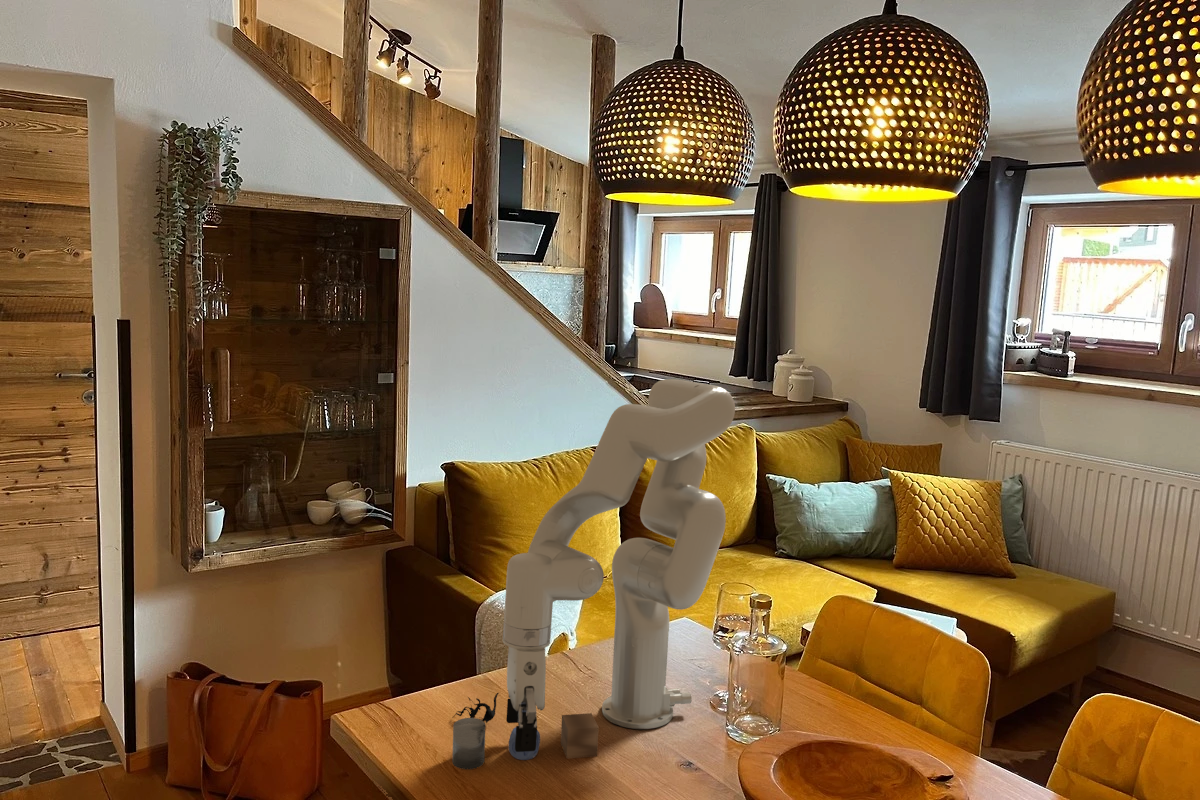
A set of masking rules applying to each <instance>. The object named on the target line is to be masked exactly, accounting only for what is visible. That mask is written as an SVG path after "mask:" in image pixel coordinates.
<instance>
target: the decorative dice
mask: <svg viewBox="0 0 1200 800" xmlns="http://www.w3.org/2000/svg"><path fill="white" fill-rule="evenodd" d="M509 735H510V736H509V739H508V751H509V754H510V755H511V756H512V757H513V758H514V759H516V760H520V761H521V760H522V761H527V760H532V759H534V758H535V757H536V756H537V755H538V753H539V748H540V744H541V734H540V732H539V730H538V729H537V738H536V750H535V751H526V752H516V750H515V738H516V726H515V727H514V728H513V729H512V730H511V732H510V734H509Z"/></svg>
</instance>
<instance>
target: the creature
mask: <svg viewBox="0 0 1200 800" xmlns="http://www.w3.org/2000/svg"><path fill="white" fill-rule="evenodd" d="M499 694H500V692H497V693H496V694H495V695H494V697H493V708H492V709H491V706H490V705H488V704H487V703H484V702H481V700H480V699H479V698H478V697H477V698H475V700H476V701H478V703H474V701H473V700H472V699H471V698H470V697H469V696H467V695H466V697H467V698H468V700H469V703H470V704H471V702H472V703H473V705H475V706H476V707H475V708H473V706H472V705H470V706H471V707H469V706H465V707H464V708H463V709H462V710H461V711H459V710H458V711H457V712H456V713H455V714H454V715H453V716H452V718H455V716H456V715H457V716H459V717H462V716H463V714H464V713H465V711H467V712H468V715H469V718H476V715H477V714H478V712H479V711H481V707H484V708H485V714H484V716H483V717H481V716H480V717H478V719H480V718H481V720H482V721H484V722H485V724H487V723H488V722H490V721H492V720H493V719H494V717H495V715H496V708H497V698H498V696H499ZM467 708H468V709H469V710H468V709H467ZM470 713H471V714H470Z"/></svg>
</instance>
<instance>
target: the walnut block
mask: <svg viewBox="0 0 1200 800" xmlns="http://www.w3.org/2000/svg"><path fill="white" fill-rule="evenodd" d="M560 728H561V729H560V730H561V731H560V732H561V733H560V745H561V747H563V748H562V750H563V752H564V755H565V758H566V759H567V760H568V759H579V758H590V757H591V758H593V757H598V746H599V745H598V743H599V742H598V741H599V726H598V723H597V721H596V719H595V717H594V714H593V713H589V712H588V713H573V714H572V713H571V714H561V727H560Z"/></svg>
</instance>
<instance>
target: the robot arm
mask: <svg viewBox="0 0 1200 800" xmlns="http://www.w3.org/2000/svg"><path fill="white" fill-rule="evenodd" d="M647 399H648V402H647V403H648V404H647V405H645V404H636V403H628V404H627V403H626V404H623V405H621V406H619V407H617V408H615V410H614V411H613V412H612V414H611V415H610V417H609V419H608V421H607V424H606V426H605V428H604V431H603V433H602V435H601V437H600V438H599V441H598V444H597V445H596V446H597V447H596V449H595V451H594V453H593V455H592V458H591V459H590V462H589V463H588V465H587V468H586V470H585V472H584V474H583V477H582V478H581V480H580V481H579V483H578V484H577V485H576V486H575V487H573V488H572V489H571V490H569V491H568V492H567V493H565V494H564V495H563V496H562V497H560V499H558V501H557V502H556V503H555V504H553V505H552V506H551V507H550V508H549V509H548V510H547V512H546V513H545V514H544V516H543V517H542V520H540V523H539V525H538V526H537V529H536V532H535V534H534V535H533V537H532V541H531V542H530V545H529V548H528V550H527V552H522V553H518V554H515V555H513V556H512V557H510V559H508V563H507V567H506V579H505V580H506V581H505V582H506V583H505V600H504V613H503V615H504V617H503V632H502V642H503V644H504V645H505V646H506V647H508V653H507V654H508V655H507V663H506V664H507V666H506V667H507V668H506V688H507V693H508V698H507V704H506V722H507V724H517V725H516V726H515V727H516V738H515V750H516V752H526V751H535V750H536V738H537V730H538V721H537V720H538V718H537V716H538V715H537V714H538V713H537V710H540V711H543V710H544V709H545V705H546V704H545V703H546V674H547V673H546V669H547V668H546V667H547V666H546V660H547V659H546V648H547V647H548V646H550V644H551V639H552V637H551V636H552V621H553V608H554V607H553V606H554V602H556V601H566V602H567V601H573V602H575V601H583V600H586V599H589V598H591V597H593V596H594V595H596V594H597V593H598V592H599V590H600V589H601V587H602V586H603V584H604V583H603V582H604V575H605V574H604V569H603V567H602V566H601V564H600V562H599V561H598V560H597V559H595V558H594V557H593V556H591V555H589V554H587V553H584V552H583V551H579V550H577V549H575V548H572V547H571V546H569V544H570V542H571V540H572V539H573V537H574V535H575V533H576V531H577V530H578V529H579V528H580V526H582V525H583V524H584V523H585V522H586V521H588V520H589V519H591V518H593V517H594V516H596V515H600V514H602V513H606V512H609V511H611V510H615V509H619V508H621V507H623V506H625V505H626V504H627V503H628V502H629V501H630V499H631V496H632V494H633V491H634V490H635V487H636V484H637V482H638V480H639V477H640V476H641V473H642V471H643V469H644V466H645V465H646V462H647V461H648V459H650V460H653V461H656V462H655V465H654V469H653V471H652V474H651V477H650V480H649V482H648V485H647V488H646V491H645V494H644V496H643V500H642V503H641V506H640V512H639V517H640V522H641V523H642V524H643V526H644V527H645V528H646V529H648V530H650V532H651V531H652V532H653V533H655V534H657V535H661V536H663V537H666V538H669V539H672V540H674V541H675V543H674V545H673V547H672V546H669V545H667V544H664V543H662V542H658V541H656V540H653V539H649V538H646V537H633V538H628V539H627V540H625V541H623V542H622V543H621V544H620V545H619V546H618V547H617V549H616V550H615V552H614V555H613V556H612V557H613V558H612V562H611V574H612V575H611V576H612V583H613V589H614V599H615V612H614V613H615V616H614V617H615V619H614V620H615V622H614V635H613V637H614V640H613V655H612V656H613V657H612V662H613V663H612V678H611V694H610V696H608V697H607V698H606V699H604V700H603V701H602V705H601V706H602V707H601V713H602V715H603V716H604V718H605V719H606V720H607V721H609V722H611V723H612V724H614V725H617V726H619V727H623V728H627V729H633V730H634V729H635V730H649V729H655V728H660V727H662V726H665V725H667V724H669V723H670V721H671V720H672V719H673V715H674V707H675V705H679V704H680V705H690V704H692V701H693V699H692V694H691V692H681V690H680V688H679V687H678V688H669V689H668V688H667V686H666V684H667V670H668V669H667V665H668V651H669V650H668V649H669V634H670V633H669V632H670V613H669V608H671V609H674V610H687V609H689V608H691V607H692V606H693V605H695V604H696V603H697V602H698V601H699V599H701V596H702V594H703V592H704V591H705V588H706V585H707V582H708V580H709V578H710V574H711V572H712V568H713V566H714V563H715V560H716V558H717V554H718V551H719V548H720V545H721V543H722V539H723V536H724V533H725V530H726V521H727V519H726V509H725V506H724V504H723V502H722V501H721V499H720V498H719V497H718V496H717V495H716V494H714V493H712V492H710V491H709V490H708V491H707V490H703V489H702V488H701V489H700V486H701V483H702V481H703V480H702V479H703V475H704V473H705V469H706V466H707V449H706V444H708V443H710V442H712V441H713V440H715V439H717V438H718V437H720V436H721V435H723V433H725V432H726V431H727V430H728V429H729V428H730V426H731V424H732V422H733V421H734V418H735V415H736V413H735V412H736V403H735V400H734V398H733V396H732V395H731V393H730V392H729V391H728V390H727V389H725V388H723V387H721V386H720V385H719V386H717V385H714V384H708V383H707V384H706V383H702V382H694V381H691V380H684V379H678V378H677V379H676V378H667V379H661V380H658V381H657V382H655V383H654V384H653V386H652V387H651V388H650V391H649V395H648V398H647Z"/></svg>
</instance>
